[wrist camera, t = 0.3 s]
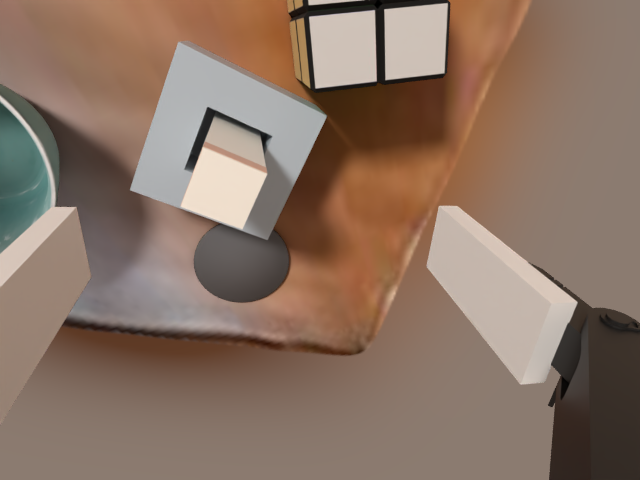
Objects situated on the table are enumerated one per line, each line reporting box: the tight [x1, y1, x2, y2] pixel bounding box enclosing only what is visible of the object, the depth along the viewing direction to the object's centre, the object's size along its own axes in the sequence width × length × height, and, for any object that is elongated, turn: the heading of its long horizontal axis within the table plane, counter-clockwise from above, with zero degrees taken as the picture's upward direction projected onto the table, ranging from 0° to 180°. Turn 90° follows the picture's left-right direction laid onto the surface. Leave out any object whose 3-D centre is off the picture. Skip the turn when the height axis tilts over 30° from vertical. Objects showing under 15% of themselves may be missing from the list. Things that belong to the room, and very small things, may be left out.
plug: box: [181, 111, 267, 229], centre depth 31 cm, size 4×4×14 cm
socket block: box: [130, 41, 327, 240], centre depth 35 cm, size 12×12×6 cm
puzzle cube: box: [287, 0, 450, 93], centre depth 31 cm, size 10×10×10 cm
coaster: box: [194, 223, 289, 302], centre depth 44 cm, size 10×10×1 cm
